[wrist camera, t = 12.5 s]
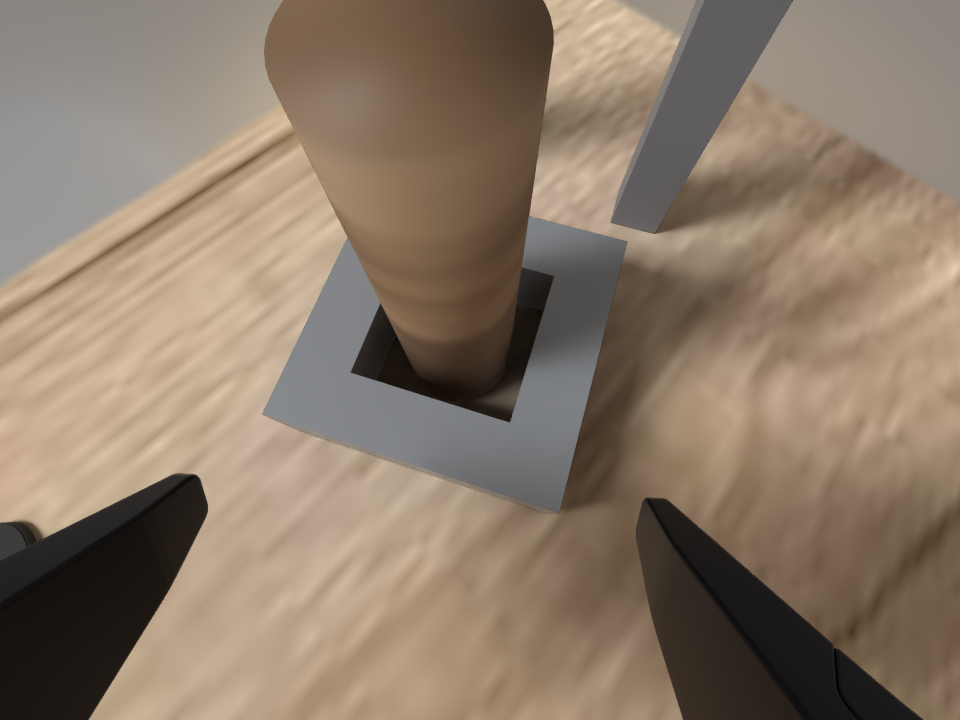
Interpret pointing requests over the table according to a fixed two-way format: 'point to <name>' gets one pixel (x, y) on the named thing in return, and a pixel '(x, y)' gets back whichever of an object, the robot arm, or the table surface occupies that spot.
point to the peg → (425, 159)
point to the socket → (442, 426)
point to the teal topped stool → (693, 102)
